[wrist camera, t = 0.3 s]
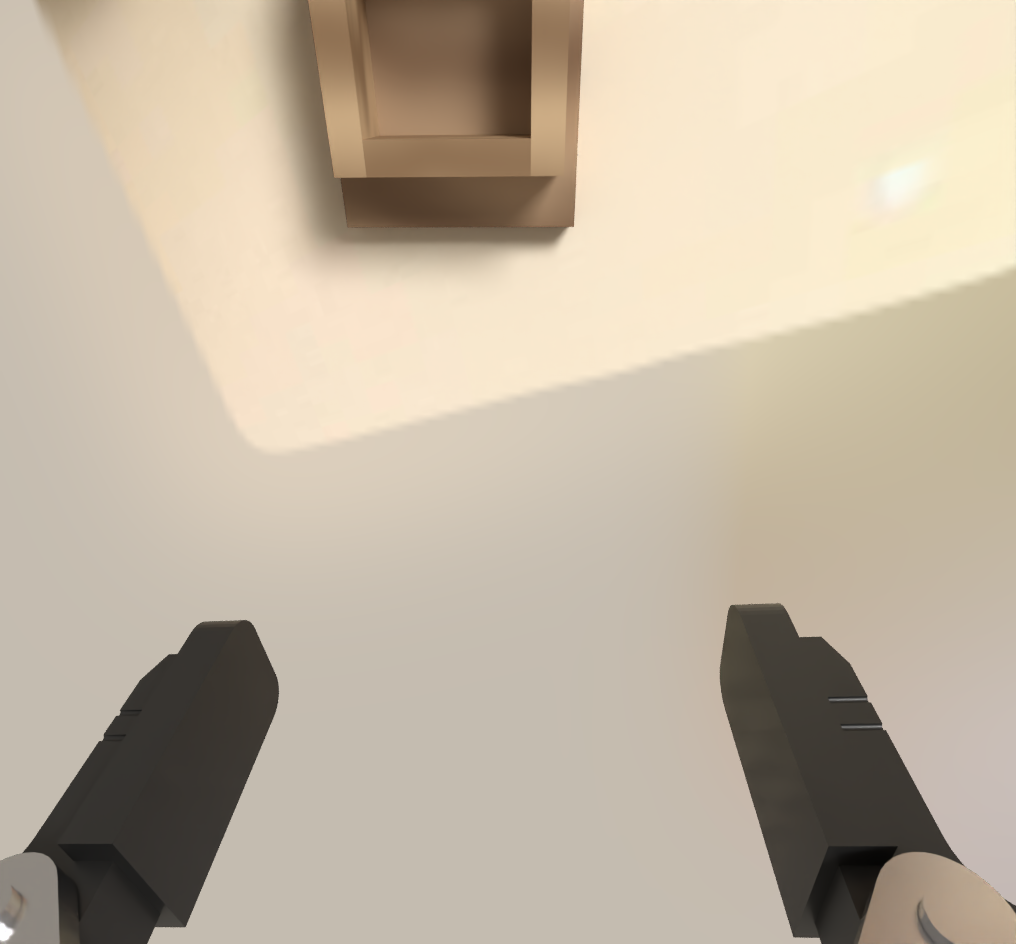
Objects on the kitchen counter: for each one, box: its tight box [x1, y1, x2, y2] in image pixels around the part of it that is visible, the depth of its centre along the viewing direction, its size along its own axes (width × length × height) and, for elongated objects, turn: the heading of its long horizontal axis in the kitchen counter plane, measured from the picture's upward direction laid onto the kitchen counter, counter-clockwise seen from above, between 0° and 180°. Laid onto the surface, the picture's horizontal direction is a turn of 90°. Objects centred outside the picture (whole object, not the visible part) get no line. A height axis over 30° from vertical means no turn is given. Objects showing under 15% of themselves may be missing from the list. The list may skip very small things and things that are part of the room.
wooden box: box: [308, 0, 584, 227], centre depth 27 cm, size 16×12×5 cm
